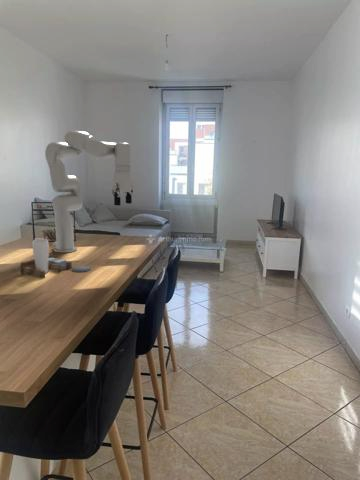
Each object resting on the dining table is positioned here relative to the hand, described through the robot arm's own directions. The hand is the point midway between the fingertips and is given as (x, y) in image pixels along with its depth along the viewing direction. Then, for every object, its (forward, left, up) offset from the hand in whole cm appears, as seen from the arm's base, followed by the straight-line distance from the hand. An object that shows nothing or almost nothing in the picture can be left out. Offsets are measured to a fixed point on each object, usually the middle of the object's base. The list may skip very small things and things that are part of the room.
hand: (123, 204), depth 175 cm
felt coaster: (-10, -20, -30) cm, 37 cm away
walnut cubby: (-22, -30, -30) cm, 47 cm away
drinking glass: (-22, -33, -30) cm, 50 cm away
